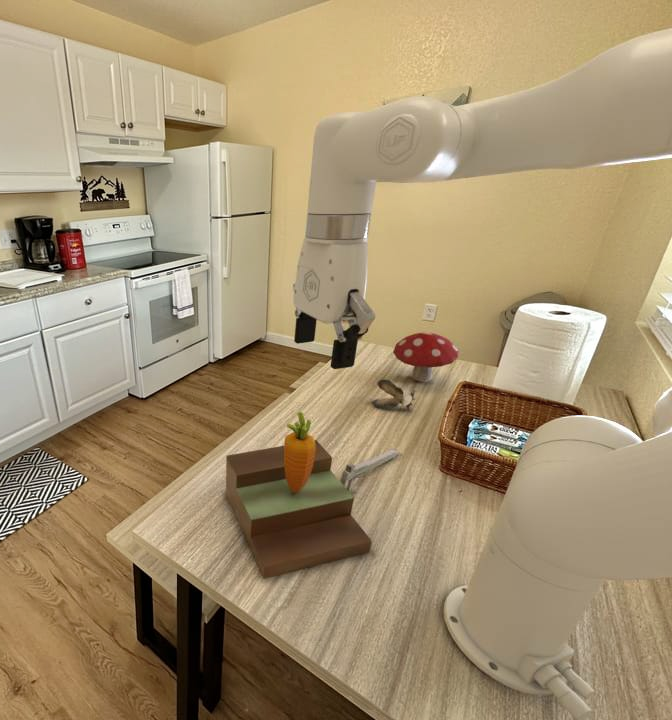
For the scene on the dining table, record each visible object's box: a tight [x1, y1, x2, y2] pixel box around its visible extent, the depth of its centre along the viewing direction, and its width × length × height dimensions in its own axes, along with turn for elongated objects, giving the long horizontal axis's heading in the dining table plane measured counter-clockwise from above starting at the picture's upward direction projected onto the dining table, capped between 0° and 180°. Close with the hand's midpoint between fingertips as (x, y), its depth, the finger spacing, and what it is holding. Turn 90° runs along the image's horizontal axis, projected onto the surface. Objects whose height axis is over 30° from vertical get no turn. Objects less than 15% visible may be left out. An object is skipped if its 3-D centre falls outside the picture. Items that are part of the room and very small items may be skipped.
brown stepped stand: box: [225, 439, 373, 579], centre depth 65 cm, size 18×18×9 cm
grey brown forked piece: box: [371, 378, 417, 411], centre depth 99 cm, size 8×7×9 cm
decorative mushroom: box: [392, 332, 460, 383], centre depth 110 cm, size 16×16×15 cm
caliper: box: [339, 448, 400, 492], centre depth 76 cm, size 20×1×6 cm, turn 127°
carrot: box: [283, 411, 316, 494], centre depth 61 cm, size 5×5×15 cm
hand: (321, 353), depth 55 cm, fingers open, 9 cm apart
